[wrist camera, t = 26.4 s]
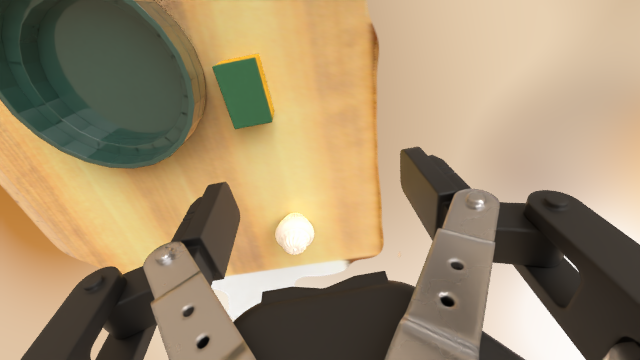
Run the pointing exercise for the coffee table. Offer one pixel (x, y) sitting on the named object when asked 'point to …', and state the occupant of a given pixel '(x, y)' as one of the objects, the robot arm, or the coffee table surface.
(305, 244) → the muffin
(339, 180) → the coffee table surface
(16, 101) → the bowl
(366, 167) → the coffee table surface
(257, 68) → the sponge
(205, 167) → the coffee table surface
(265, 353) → the robot arm
